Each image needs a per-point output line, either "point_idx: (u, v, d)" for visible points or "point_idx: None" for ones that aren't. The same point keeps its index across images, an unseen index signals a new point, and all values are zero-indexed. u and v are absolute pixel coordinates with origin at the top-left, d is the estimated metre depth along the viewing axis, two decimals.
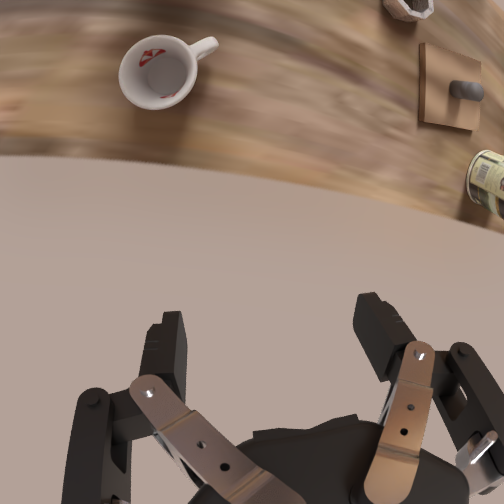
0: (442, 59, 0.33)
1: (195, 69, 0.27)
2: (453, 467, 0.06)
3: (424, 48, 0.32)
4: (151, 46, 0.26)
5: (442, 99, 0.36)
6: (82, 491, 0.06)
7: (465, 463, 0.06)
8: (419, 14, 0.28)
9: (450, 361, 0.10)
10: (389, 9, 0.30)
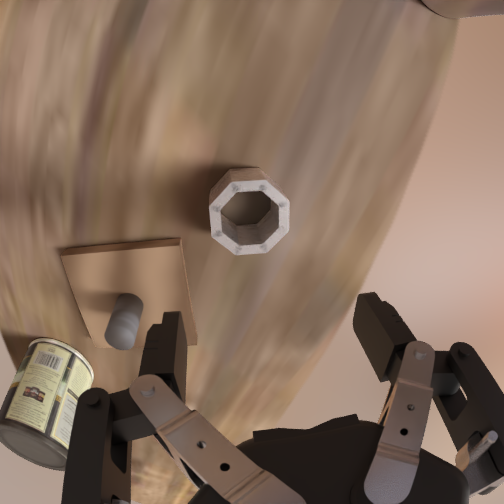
0: (165, 279, 0.29)
1: None
2: (453, 467, 0.06)
3: (170, 245, 0.28)
4: None
5: (103, 283, 0.28)
6: (82, 491, 0.06)
7: (465, 463, 0.06)
8: (217, 226, 0.24)
9: (450, 361, 0.10)
10: (222, 179, 0.26)
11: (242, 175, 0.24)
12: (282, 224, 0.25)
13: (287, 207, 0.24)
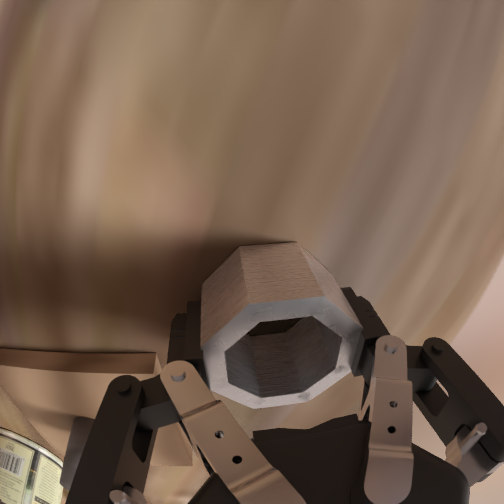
0: None
1: None
2: (453, 467, 0.06)
3: (138, 369, 0.15)
4: None
5: (49, 402, 0.16)
6: (95, 474, 0.06)
7: (458, 457, 0.07)
8: (218, 375, 0.12)
9: (424, 358, 0.10)
10: (225, 268, 0.13)
11: (269, 274, 0.12)
12: (342, 363, 0.12)
13: (357, 338, 0.12)
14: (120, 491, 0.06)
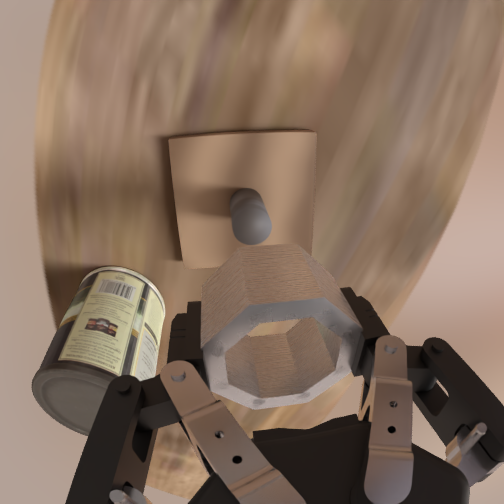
0: (294, 170, 0.26)
1: None
2: (453, 467, 0.06)
3: (305, 132, 0.25)
4: None
5: (218, 174, 0.26)
6: (95, 474, 0.06)
7: (457, 457, 0.07)
8: (218, 376, 0.12)
9: (424, 358, 0.10)
10: (225, 269, 0.13)
11: (269, 275, 0.12)
12: (342, 364, 0.12)
13: (357, 339, 0.12)
14: (120, 491, 0.06)
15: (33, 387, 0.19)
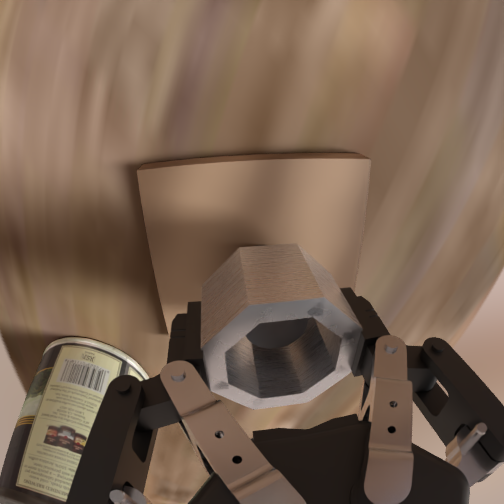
0: (335, 217, 0.17)
1: None
2: (453, 467, 0.06)
3: (353, 158, 0.16)
4: None
5: (218, 225, 0.17)
6: (95, 474, 0.06)
7: (457, 457, 0.07)
8: (218, 376, 0.12)
9: (424, 358, 0.10)
10: (225, 269, 0.13)
11: (269, 275, 0.12)
12: (342, 364, 0.12)
13: (357, 339, 0.12)
14: (120, 491, 0.06)
15: None
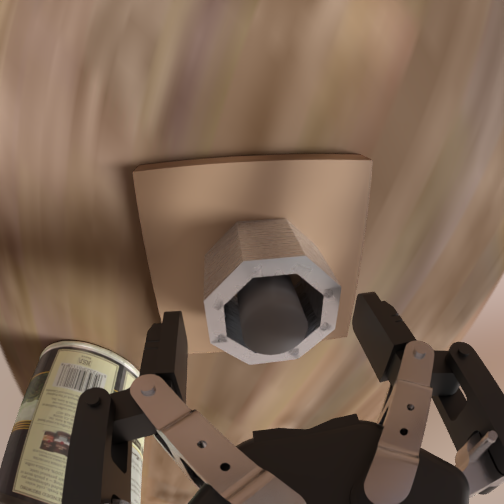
0: (336, 220, 0.17)
1: None
2: (453, 467, 0.06)
3: (355, 159, 0.15)
4: None
5: (216, 228, 0.16)
6: (82, 491, 0.06)
7: (465, 463, 0.06)
8: (218, 329, 0.14)
9: (449, 361, 0.10)
10: (224, 239, 0.16)
11: (261, 241, 0.14)
12: (326, 321, 0.15)
13: (337, 296, 0.14)
14: None
15: None
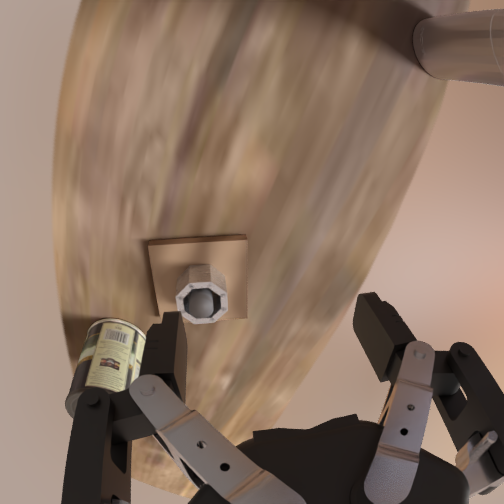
0: (232, 264, 0.40)
1: None
2: (453, 467, 0.06)
3: (239, 239, 0.39)
4: None
5: (181, 268, 0.39)
6: (82, 491, 0.06)
7: (465, 463, 0.06)
8: (181, 307, 0.37)
9: (450, 361, 0.10)
10: (184, 273, 0.39)
11: (197, 275, 0.37)
12: (223, 306, 0.38)
13: (226, 297, 0.37)
14: None
15: (66, 402, 0.31)
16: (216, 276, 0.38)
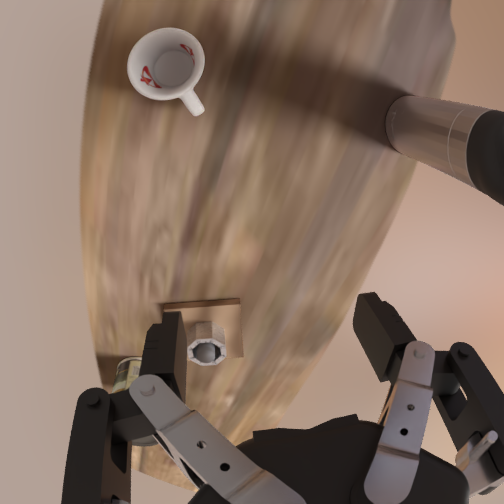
0: (229, 321, 0.50)
1: (164, 98, 0.28)
2: (453, 467, 0.06)
3: (234, 303, 0.49)
4: (195, 55, 0.28)
5: (190, 324, 0.50)
6: (82, 491, 0.06)
7: (465, 463, 0.06)
8: (191, 355, 0.48)
9: (450, 361, 0.10)
10: (193, 328, 0.49)
11: (202, 332, 0.48)
12: (223, 354, 0.48)
13: (224, 347, 0.48)
14: None
15: None
16: (217, 331, 0.49)
